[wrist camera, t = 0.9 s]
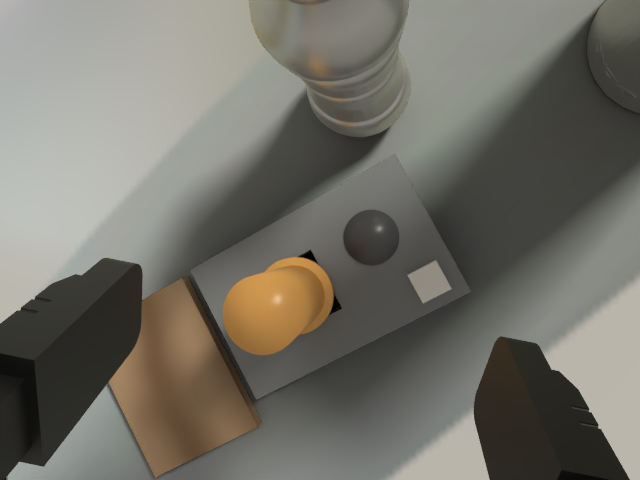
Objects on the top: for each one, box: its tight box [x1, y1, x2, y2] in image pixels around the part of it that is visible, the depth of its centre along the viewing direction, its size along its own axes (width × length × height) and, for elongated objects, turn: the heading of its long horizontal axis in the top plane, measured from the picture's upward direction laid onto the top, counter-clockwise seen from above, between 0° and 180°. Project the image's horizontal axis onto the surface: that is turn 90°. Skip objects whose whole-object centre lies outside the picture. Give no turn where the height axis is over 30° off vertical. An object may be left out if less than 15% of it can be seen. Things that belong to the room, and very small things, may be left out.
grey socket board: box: [190, 154, 471, 400], centre depth 33 cm, size 16×10×3 cm, turn 118°
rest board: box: [109, 277, 262, 477], centre depth 36 cm, size 9×12×1 cm
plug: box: [223, 257, 334, 355], centre depth 30 cm, size 5×5×11 cm
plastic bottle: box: [249, 0, 411, 137], centre depth 24 cm, size 6×7×20 cm
